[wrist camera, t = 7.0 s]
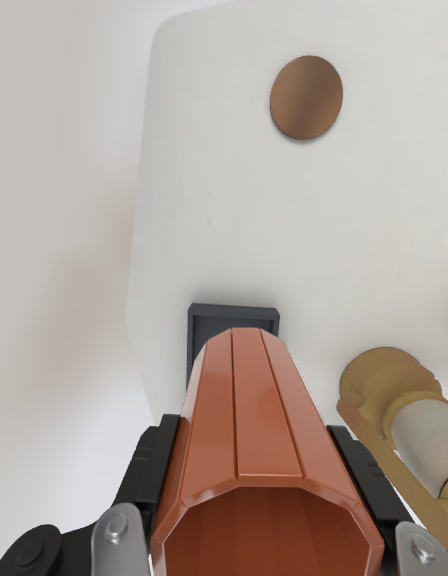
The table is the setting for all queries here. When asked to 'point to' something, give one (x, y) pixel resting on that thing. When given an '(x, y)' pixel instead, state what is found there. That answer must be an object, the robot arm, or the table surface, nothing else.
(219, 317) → the tray
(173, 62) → the table surface
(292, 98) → the coaster
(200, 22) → the table surface
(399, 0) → the table surface
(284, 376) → the cup
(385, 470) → the lantern
